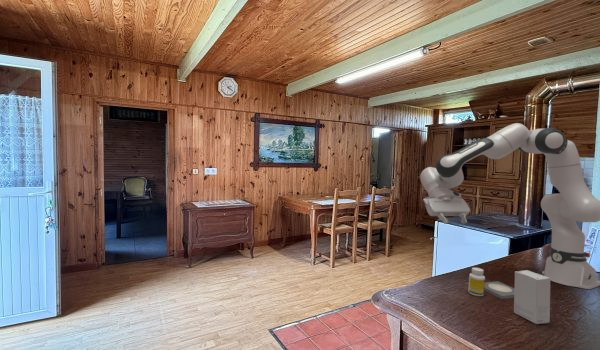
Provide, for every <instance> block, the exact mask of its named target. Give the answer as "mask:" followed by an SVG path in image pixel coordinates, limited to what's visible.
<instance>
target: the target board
mask: <svg viewBox="0 0 600 350" xmlns="http://www.w3.org/2000/svg"><path fill="white" fill-rule="evenodd" d="M514 288H515V287H512V286H511V285H507V284H505V283H504V282H500V281H498V280H497V281H487V282H486V281H485V286H484V292H487V293H489V294H491V295H493V296H494V297H497V298H498V299H501V300H505V299H506V300H507V299H514Z"/></svg>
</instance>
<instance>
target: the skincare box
mask: <svg viewBox="0 0 600 350" xmlns="http://www.w3.org/2000/svg"><path fill="white" fill-rule="evenodd" d="M550 279H551V278H549V277H546V276H544V274H541V273H536V272H534V271H531V270H528V269H526V270H517V271H514V287H513V288H514V298H513V299H514V300H513V313H514V314H516V315H518V316H520V317H522V318H524V319H526V320H528V321H530V322H531V323H533V324H535V325H539V324H540V325H541V324H549V323H550V321H551V319H550V318H551V280H550Z"/></svg>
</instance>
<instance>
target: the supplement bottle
mask: <svg viewBox="0 0 600 350" xmlns="http://www.w3.org/2000/svg"><path fill="white" fill-rule="evenodd" d="M484 271H485V270H484V269H482V268H480V267H471V272H470V273H469V275H468V276H469V277H468V286H467V287H468V289H467V293H469V294H470V295H472V296H476V297H484V295H485V291H484V286H485V282H486V277H485V275H484V273H485V272H484Z"/></svg>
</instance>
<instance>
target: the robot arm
mask: <svg viewBox="0 0 600 350" xmlns="http://www.w3.org/2000/svg"><path fill="white" fill-rule="evenodd" d="M517 149H518V150H519V151H521V152H522V153H526V154H533V155H540V154H541V155H542V154H543V155H544V156H545V158H546V162H547V163H546V164H547V171H548V176H549V181H550V185H551V186H553V187H554V188H555V189H556V190H558V192H559V193H549V194H546V195H544V196H543V197H542V199H541V201H540V208H541V210H542V211H543V212H544V213H545V214H546V216H547V218H548V221H549V224H550V227H551V246H550V247H549V250H548V251H549V256H548V257H546V261H545V266H544V270H542V273H541V275H543V276H546V277H549V278H551V279H550V282H554V283H556V284H560V285H565V286H568V287H576V288H580V289H585V290H591V289H594V288H597V287H599V286H600V280H599V279H597V271H596V269H595V268H594V267H593V266H592V265H591V264H590V263H589V262H588V261H587V258H588V259H589V258H591V253H590V252H586V251H585V243H586V235H585V233H584V232H583V231H582V230H581V229H580V228H579V226H578V224H577V222H579V223H598V222H600V200H599V199H598V198H596V197H595V195H593V193H592V192H591V191H590V189H589V187H588V186H587V184H586V181H585V179H584V174H583V170H582V164H581V158H580V154H579V150H578V149H577V147H576V144H575V143H574V142H573V141H572V140H569V139H568V138H566V136H565V134H564V133H563V132H562V131H561V130H560V129H557V128H553V127H546V128H536V129H530V130H529V129H528V127H526V126H525V125H524V124H522V123H519V122H515V123H511V124H509V125H507V126H505V127H503V128H501V129H499V130H497V131H496V132H494V133H493V134H491V135H490V136H487V137H483V138H480V139H478V140H475V141H473V142H472V143H469V144H467V145H466V146H464V147H462V148H460V149H458V150H456V151H454V152H450V153H447V154H444V155H442V156H441V157H439V158H438V159H437V161H436V162H435V167H432V166H428V167H426V168H424V169H423V170H422V171H421V173H420V175H419V179H420V182H421V185H422V186H423V188H424V191H426V192H427V194H428V196H425V197H424V198H423V202H424V206H425V209H426V212H427V213H428V215H429V216H430V217H437V218H438V219H439V220H441V221H442V222H443V224H445V225H446V224H447V225H448V224H449V223H450V220H449V218H447V217H448V216H449V217H452V216H453V217H457V216H459V218H460V220H459V221H460V222H461V224H467V223H468V220H467V218H466V216H467V215H468V214H470V213H471V208H470V207H469V205H468V203H467V202H466V200H465V199H463V198H462V195H461V193H460V192H457V191H454V190H452V189H455V188H457V187H460V186H461V185H462V184H463V183H464V180H465V177H464V172H463V169H462V168H463V165H465V163H467V162H469V161H471V160H473V159H475V158H477V157H479V156H481V155H483V156H485V157H487V158H489V159H492V160H499V159H500V160H501V159H503V158H505V157H506V156H508V155H510V154H512V153H513V152H514V151H516V150H517Z"/></svg>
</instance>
